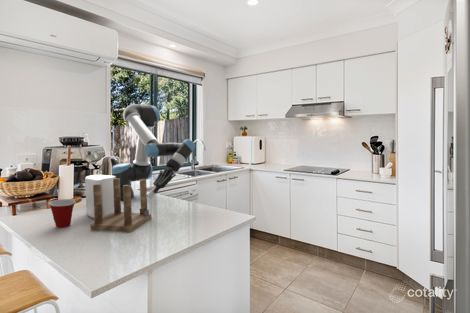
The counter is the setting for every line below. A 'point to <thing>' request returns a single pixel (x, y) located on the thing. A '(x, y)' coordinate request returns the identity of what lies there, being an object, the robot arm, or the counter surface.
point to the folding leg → (143, 194)
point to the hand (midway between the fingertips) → (149, 197)
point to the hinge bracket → (144, 212)
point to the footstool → (116, 211)
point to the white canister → (106, 194)
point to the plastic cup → (62, 212)
